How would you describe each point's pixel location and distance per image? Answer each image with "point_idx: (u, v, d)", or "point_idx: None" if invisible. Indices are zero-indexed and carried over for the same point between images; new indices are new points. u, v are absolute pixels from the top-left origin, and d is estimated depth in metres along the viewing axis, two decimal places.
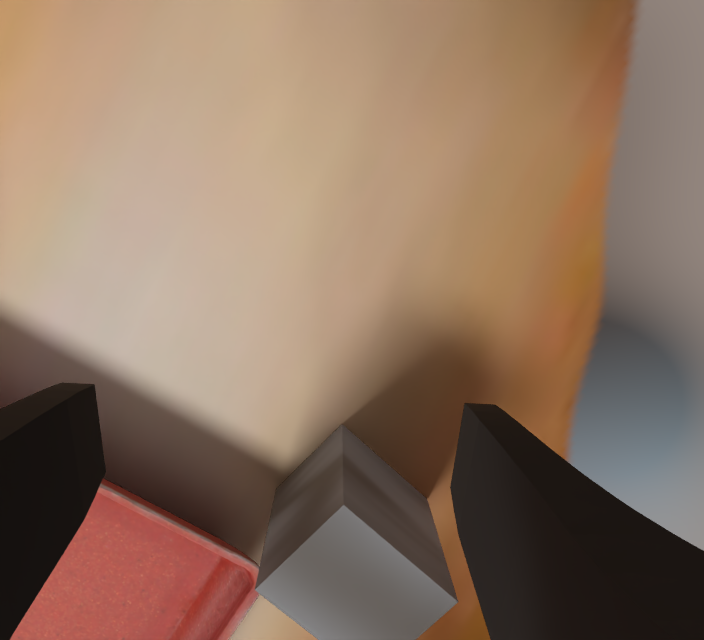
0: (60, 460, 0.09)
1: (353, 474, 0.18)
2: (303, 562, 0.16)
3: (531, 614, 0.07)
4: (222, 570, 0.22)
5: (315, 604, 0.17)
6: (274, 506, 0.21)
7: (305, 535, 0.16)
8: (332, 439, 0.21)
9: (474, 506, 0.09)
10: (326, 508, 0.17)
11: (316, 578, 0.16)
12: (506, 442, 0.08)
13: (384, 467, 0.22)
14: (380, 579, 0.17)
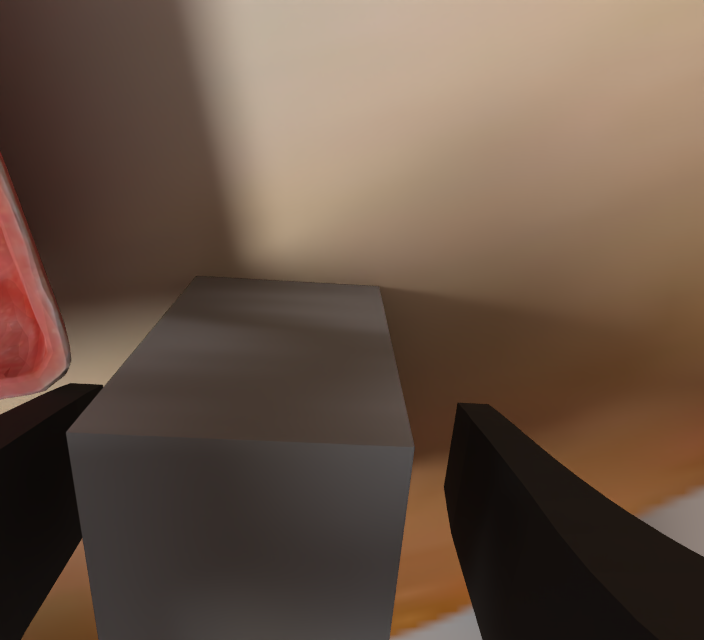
0: (69, 460, 0.09)
1: None
2: (220, 469, 0.06)
3: (521, 614, 0.07)
4: None
5: (156, 552, 0.07)
6: (184, 299, 0.10)
7: (273, 427, 0.06)
8: (353, 292, 0.11)
9: (466, 506, 0.09)
10: (347, 411, 0.07)
11: (210, 516, 0.07)
12: (498, 442, 0.08)
13: None
14: (311, 606, 0.07)
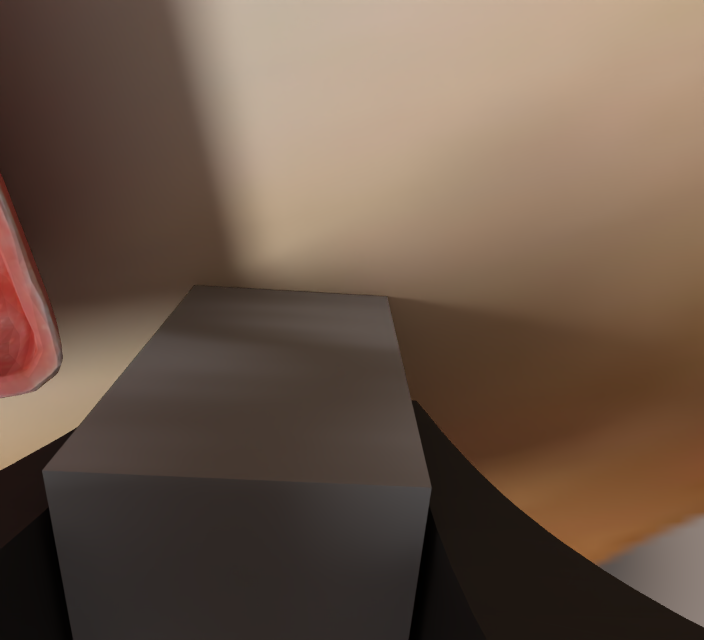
0: None
1: None
2: (214, 511, 0.06)
3: (415, 610, 0.07)
4: None
5: (144, 598, 0.06)
6: (180, 312, 0.10)
7: (272, 462, 0.06)
8: (360, 304, 0.11)
9: None
10: (356, 444, 0.06)
11: (203, 561, 0.06)
12: None
13: None
14: None
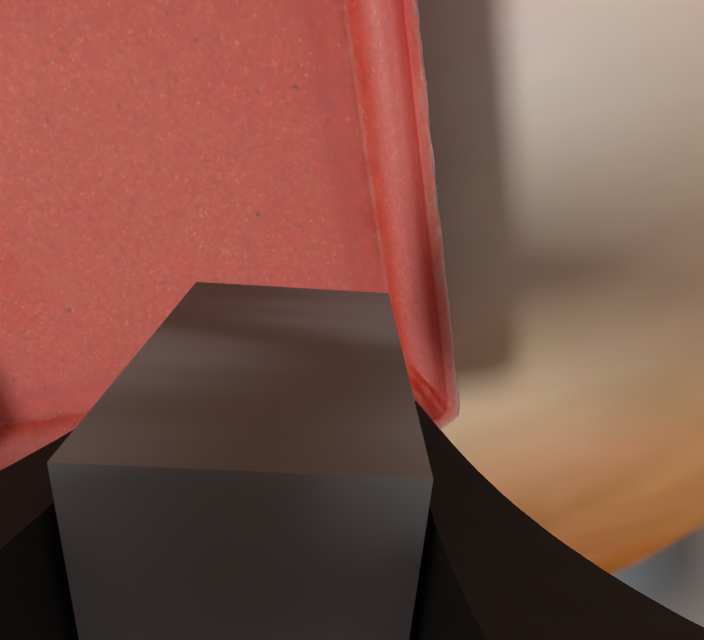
0: None
1: None
2: (218, 503, 0.06)
3: (416, 610, 0.07)
4: None
5: (148, 591, 0.06)
6: (183, 308, 0.10)
7: (276, 455, 0.06)
8: (361, 300, 0.11)
9: None
10: (358, 436, 0.06)
11: (207, 552, 0.06)
12: None
13: None
14: None
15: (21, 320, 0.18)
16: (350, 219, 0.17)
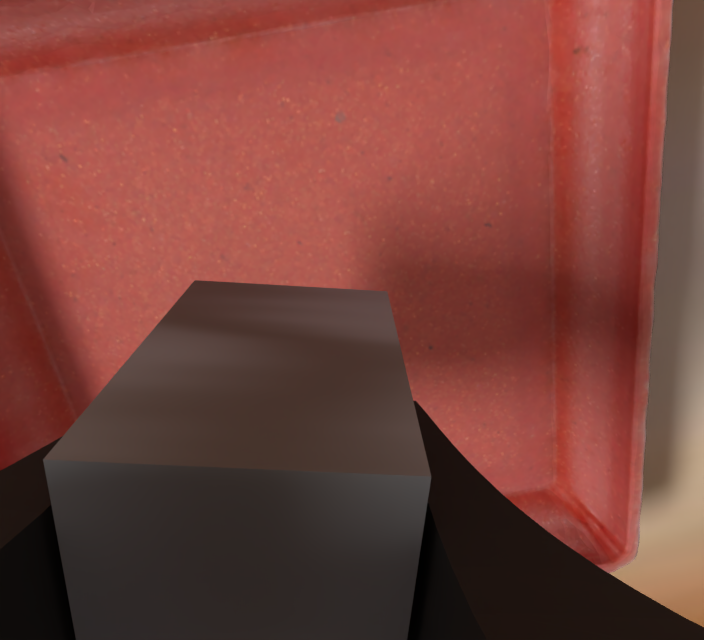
0: None
1: None
2: (214, 501, 0.06)
3: (416, 610, 0.07)
4: (539, 502, 0.18)
5: (145, 588, 0.06)
6: (181, 306, 0.10)
7: (273, 453, 0.06)
8: (360, 298, 0.11)
9: None
10: (356, 434, 0.06)
11: (204, 551, 0.06)
12: None
13: None
14: None
15: None
16: (526, 352, 0.16)
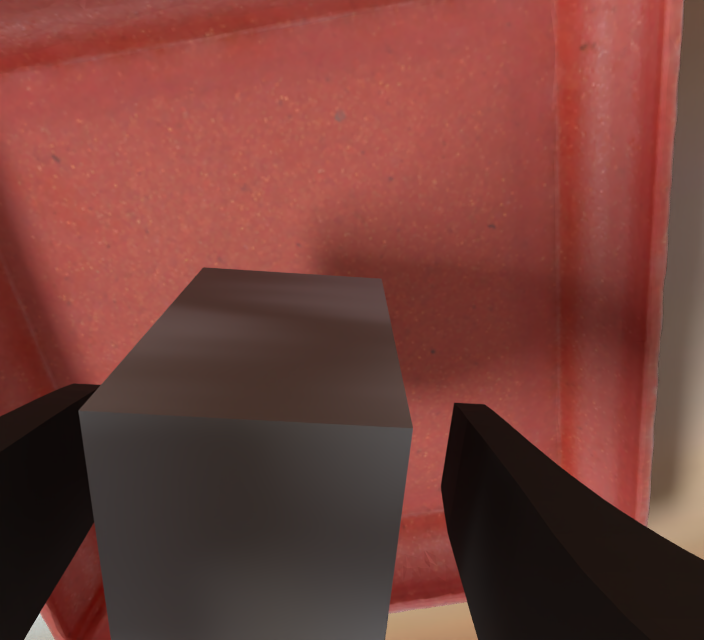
0: (73, 460, 0.09)
1: None
2: (226, 448, 0.07)
3: (517, 613, 0.07)
4: None
5: (163, 528, 0.07)
6: (191, 289, 0.10)
7: (276, 408, 0.07)
8: (356, 284, 0.11)
9: (463, 505, 0.09)
10: (349, 394, 0.07)
11: (215, 495, 0.07)
12: (493, 441, 0.08)
13: None
14: (313, 584, 0.07)
15: None
16: (530, 356, 0.16)
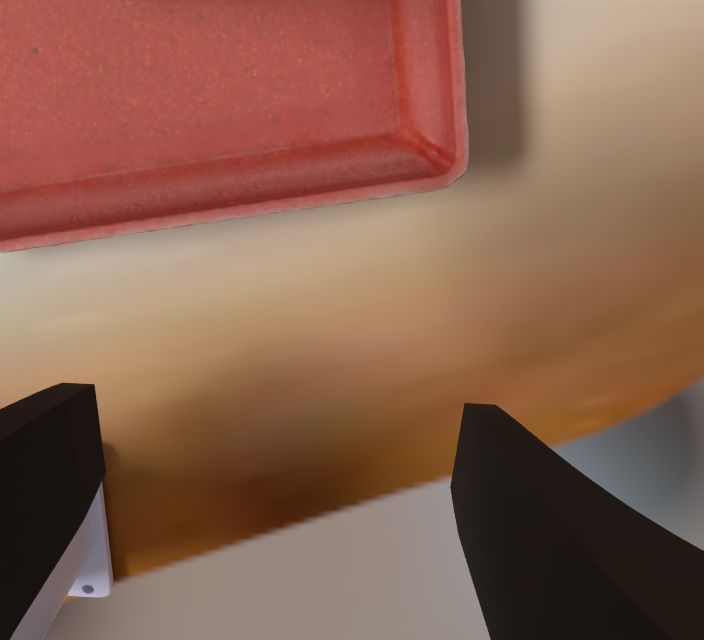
0: (60, 460, 0.09)
1: None
2: None
3: (531, 613, 0.07)
4: (382, 143, 0.17)
5: None
6: None
7: None
8: None
9: (474, 506, 0.09)
10: None
11: None
12: (506, 442, 0.08)
13: None
14: None
15: None
16: None
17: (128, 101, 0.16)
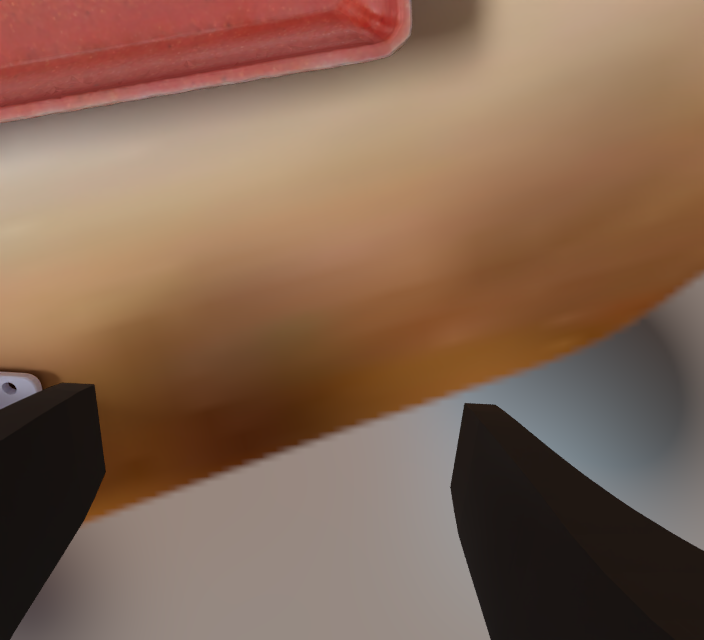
0: (60, 460, 0.09)
1: None
2: None
3: (531, 614, 0.07)
4: (323, 20, 0.16)
5: None
6: None
7: None
8: None
9: (473, 506, 0.09)
10: None
11: None
12: (506, 442, 0.08)
13: None
14: None
15: None
16: None
17: None
